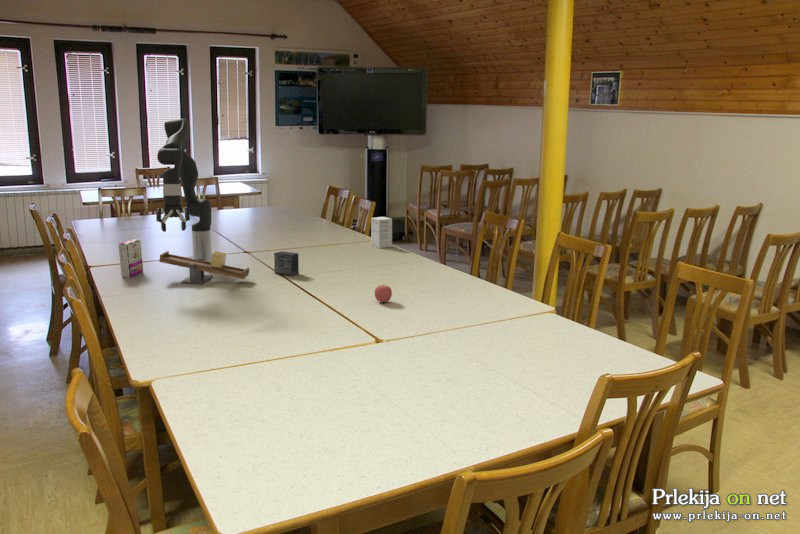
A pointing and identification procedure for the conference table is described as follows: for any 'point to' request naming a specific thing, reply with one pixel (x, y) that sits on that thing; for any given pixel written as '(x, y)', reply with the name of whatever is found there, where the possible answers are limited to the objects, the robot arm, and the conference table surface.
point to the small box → (286, 263)
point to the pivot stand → (196, 276)
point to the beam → (203, 265)
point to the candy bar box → (130, 258)
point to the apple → (383, 293)
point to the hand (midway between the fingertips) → (173, 231)
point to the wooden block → (218, 260)
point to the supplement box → (381, 232)
